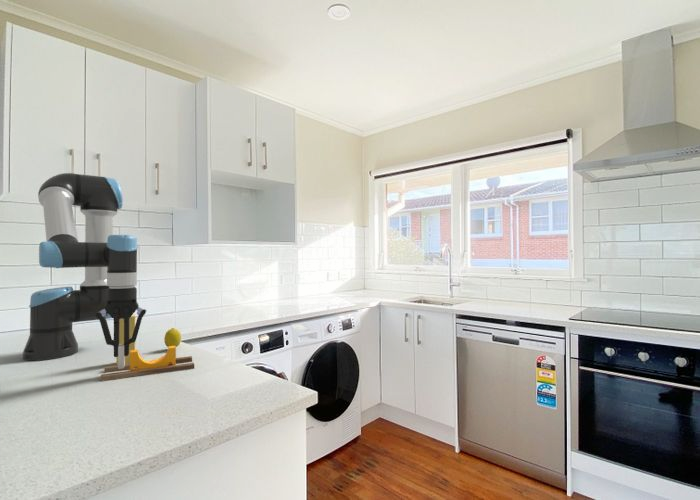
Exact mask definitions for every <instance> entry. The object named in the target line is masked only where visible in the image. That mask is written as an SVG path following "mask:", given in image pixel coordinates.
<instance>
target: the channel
mask: <svg viewBox="0 0 700 500" xmlns="http://www.w3.org/2000/svg"><path fill="white" fill-rule="evenodd" d="M149 361H150V362H152V360H149ZM169 363H171V362H169ZM134 368H135V369H137V368H138V367H137V366H135V367H134ZM191 368H192V369H195V363H194V362H193V357H192V355H189V356H183V357H182V356H181V357H176V365H172V366H164V367H156V368H148V369H141V370H133V371H130V364H125V367H124V368H122V369H118V365H116V364H115V365H107V366H105V367H104V368H103V371H104V374H100V377H99V379H100V382H103V380H104V381H110V380H118V379H117V378H119V379H125V378H124V377H126V378H132V377H131V376H133V377H138V376H139V375H141V376H145V375H155V373H156V374H160V373H161V374H163V373H169V372H176V371H177V370H178V371H182V370H184V369H185V370H190V369H191ZM111 372H112V373H111ZM139 377H140V376H139Z"/></svg>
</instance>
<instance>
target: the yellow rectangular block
mask: <svg viewBox="0 0 700 500" xmlns="http://www.w3.org/2000/svg"><path fill="white" fill-rule="evenodd" d="M136 317H137V315H136V314H133V315H132V316H131V317H130V323H129V339H130V338H132V335H133V332H134V328H135V325H136V321H137V318H136ZM136 341H137V340H136ZM136 341H135V342H133V343H131V344H129V355H128V356H125V364H130V351H131V350H137V348H136ZM120 344H124V319H122V318H121V319H120V324H119V345H120ZM115 359H116V362H115V365H118V357H115Z"/></svg>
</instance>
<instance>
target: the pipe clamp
mask: <svg viewBox="0 0 700 500" xmlns="http://www.w3.org/2000/svg"><path fill="white" fill-rule="evenodd" d="M176 349H177V347H175V346H168V347H167V351H166V353H165V354H164V355H162V356H161V357H158V358H157V359H152V360H145V359H144V358H142V357H141V356H140V354H139V349H136V350H131V351H130V369H129V371H133V370H141V369H148V368H156V367H164V366H172V365H177V363H176V358H177V357H176ZM150 361H152V362H150ZM169 362H171V363H169ZM135 366H137V367H138V368H134V367H135Z"/></svg>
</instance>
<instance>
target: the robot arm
mask: <svg viewBox="0 0 700 500" xmlns="http://www.w3.org/2000/svg"><path fill="white" fill-rule="evenodd" d="M37 193H38V194H37V196H38V197H37V198H38V202H39V203H40V206H42V207H43V217H44V228H45V229H44V230H45V238H46V241H41V242H40V243H39V246H38V263H39V266H40V267H42V268H53V269H66V268H84V281H83V282H81V283H80V284H79V289H76V290H74V288H73V287H72V286H63V287H62V286H61V287H54V288H47V289H43V290H38V291H35V292H33V293H32V294H31V295H30V303H29V306H28V307H29V310H30V311H29V313H30V314H29V336H28V339H27V341H26V343H25V346H24V348H23V351H22V360H25V361H44V360H52V359H53V360H54V359H58V358H65V357H68V356H72V355H75V354H77V353H79V344H78V341H77V338H76V335H75V334H74V331H73V323H81V322H91V321H99V324H100V326H101V330H102V333H103V336H104V340H105V344H106V345H107V346H108V345H109V346H113V357H114V358H117V357H118V369H122V368H124V367H125V356H128V355H129V344H131V343H133V342H135V341H137V338H138V334H139V330H140V326H141V323H142V320H143V317H144V316H145V315H146V313H147V309H146V308H142V307H140V305H139V303H138V300H137V299H138V298H137V296H138V295H137V294H138V293H137V292H138V291H137V289H138V288H137V287H135V286H137V285H138V284H137V283H138V280H137V279H138V278H137V276H138V272H137V270H138V269H137V268H138V267H137V266H138V261H137V260H138V247H139V246H138V242H137V241H138V239H137V237H136V236H135V235H131V234H113V231H114V230H113V227H114V226H113V222H114V220H113V218H114V216H116V215H117V214H118V210H121V209H122V208H123V205H124V204H123V203H124V202H123V201H124V199H123V191H122V187H121V185H120V182H119V181H118V180H117V179H115V178H111V177H106V176H98V175H90V174H89V175H88V174H79V173H73V172H67V173H66V172H63V173H59V174H57V175H52V177H49V178H48V179H47V180H45V181H44V182H43V183H42V184H41V185H40V187H39V189H38V192H37ZM73 206H74V207H80V208H79V209H80V211H79V212H80V213H82V215H84V217H85V218H84V219H85V220H84V221H85V222H84V223H85V227H84V228H85V230H84V234H85V236H84V237H85V239H84V241H82V242H80V241H79V238H78V232H77V228H76V221H75V217H74V216H75V215H74V211H73V210H74V209H73ZM136 311H137V312H136ZM135 312H136V314H137V315H138V316H137V318H136V325H135V328H134V332H133V335H132V338H130V339H129V323H130V317H131V316H132V315H134V313H135ZM121 318H122V319H124V344H120V345H119V324H120V319H121ZM110 319H113V339H112V336H111V333H110V332H111V331H110V328H109V324H108V321H107V320H110Z"/></svg>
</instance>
